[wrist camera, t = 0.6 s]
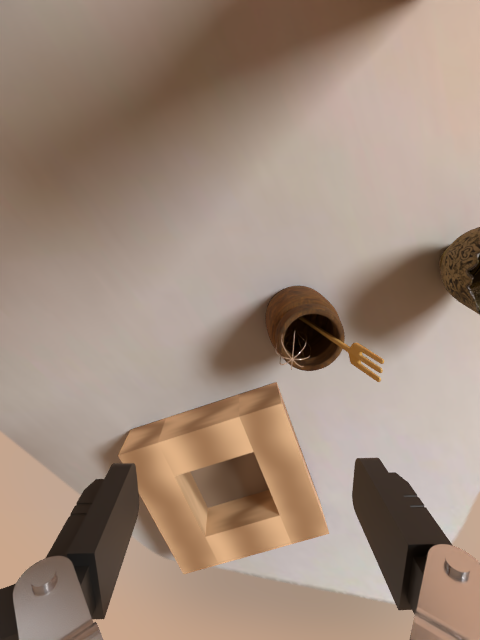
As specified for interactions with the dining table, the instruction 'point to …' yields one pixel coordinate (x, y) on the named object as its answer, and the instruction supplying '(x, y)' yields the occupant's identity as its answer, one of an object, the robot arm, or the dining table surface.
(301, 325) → the utensil holder
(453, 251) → the cup
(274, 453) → the oak socket block
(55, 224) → the dining table surface
